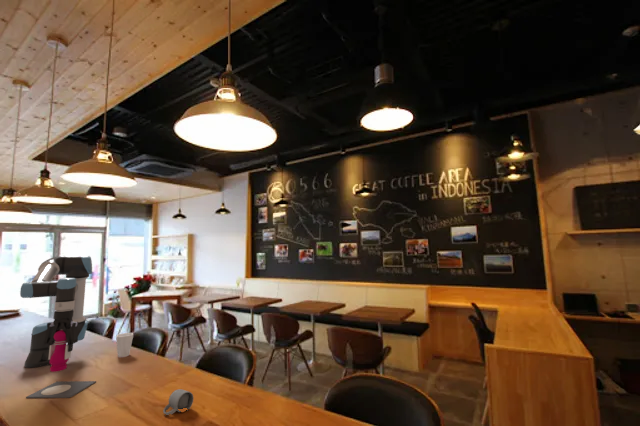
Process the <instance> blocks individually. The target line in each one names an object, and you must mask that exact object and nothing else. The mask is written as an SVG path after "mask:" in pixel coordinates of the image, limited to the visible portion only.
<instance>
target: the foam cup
mask: <svg viewBox="0 0 640 426" xmlns="http://www.w3.org/2000/svg"><path fill="white" fill-rule="evenodd" d="M133 338H134V333H133V332H125V333H118V334H117V335H116V349H117V350H116V351H117V357H118V358H126V357H128V356H130V353H131V348H132V343H133Z"/></svg>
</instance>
